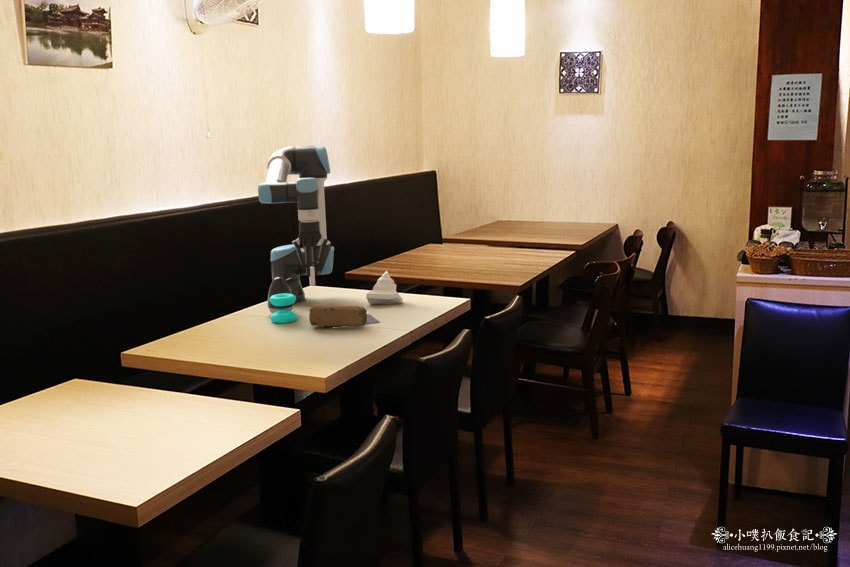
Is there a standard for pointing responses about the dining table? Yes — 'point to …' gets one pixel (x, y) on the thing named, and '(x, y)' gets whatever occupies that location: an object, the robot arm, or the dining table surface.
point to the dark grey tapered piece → (279, 287)
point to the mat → (369, 320)
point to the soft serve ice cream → (384, 291)
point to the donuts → (283, 315)
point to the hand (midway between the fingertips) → (312, 284)
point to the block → (337, 315)
